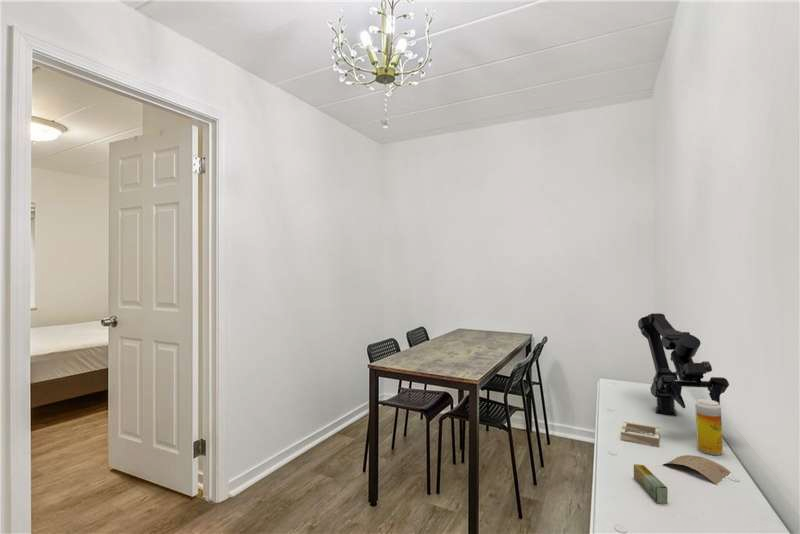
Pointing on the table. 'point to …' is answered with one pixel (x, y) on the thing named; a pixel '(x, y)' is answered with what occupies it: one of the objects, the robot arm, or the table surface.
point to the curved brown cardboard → (703, 467)
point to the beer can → (708, 426)
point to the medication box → (651, 484)
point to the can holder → (640, 438)
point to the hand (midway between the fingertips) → (701, 408)
